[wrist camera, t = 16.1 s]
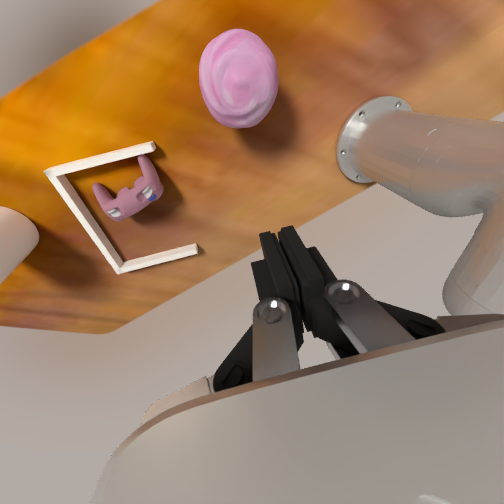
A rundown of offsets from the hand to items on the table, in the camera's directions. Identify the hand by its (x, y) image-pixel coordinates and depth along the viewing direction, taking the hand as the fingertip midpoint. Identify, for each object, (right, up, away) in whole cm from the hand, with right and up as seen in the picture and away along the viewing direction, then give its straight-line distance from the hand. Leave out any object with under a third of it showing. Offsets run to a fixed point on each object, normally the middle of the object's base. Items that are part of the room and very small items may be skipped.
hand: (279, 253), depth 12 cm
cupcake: (-4, +22, +20) cm, 30 cm away
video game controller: (-20, +11, +25) cm, 34 cm away
